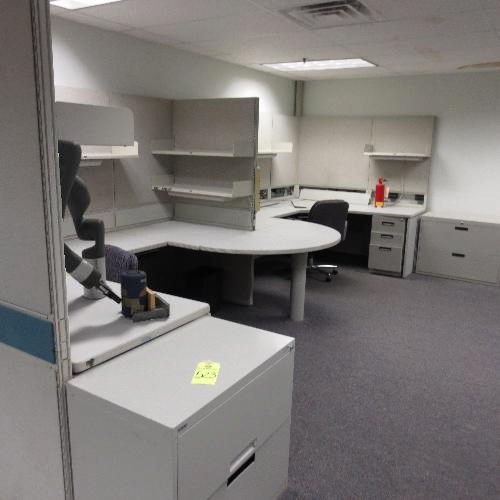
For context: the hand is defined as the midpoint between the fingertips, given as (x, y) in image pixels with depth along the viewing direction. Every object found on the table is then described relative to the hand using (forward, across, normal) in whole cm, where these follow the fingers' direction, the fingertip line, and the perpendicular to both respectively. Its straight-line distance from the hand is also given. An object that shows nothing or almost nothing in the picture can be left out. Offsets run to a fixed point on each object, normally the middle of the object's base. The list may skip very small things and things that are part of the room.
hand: (120, 301), depth 179 cm
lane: (+11, 0, -2) cm, 11 cm away
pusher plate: (+12, 0, -4) cm, 12 cm away
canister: (+8, 0, +1) cm, 8 cm away
